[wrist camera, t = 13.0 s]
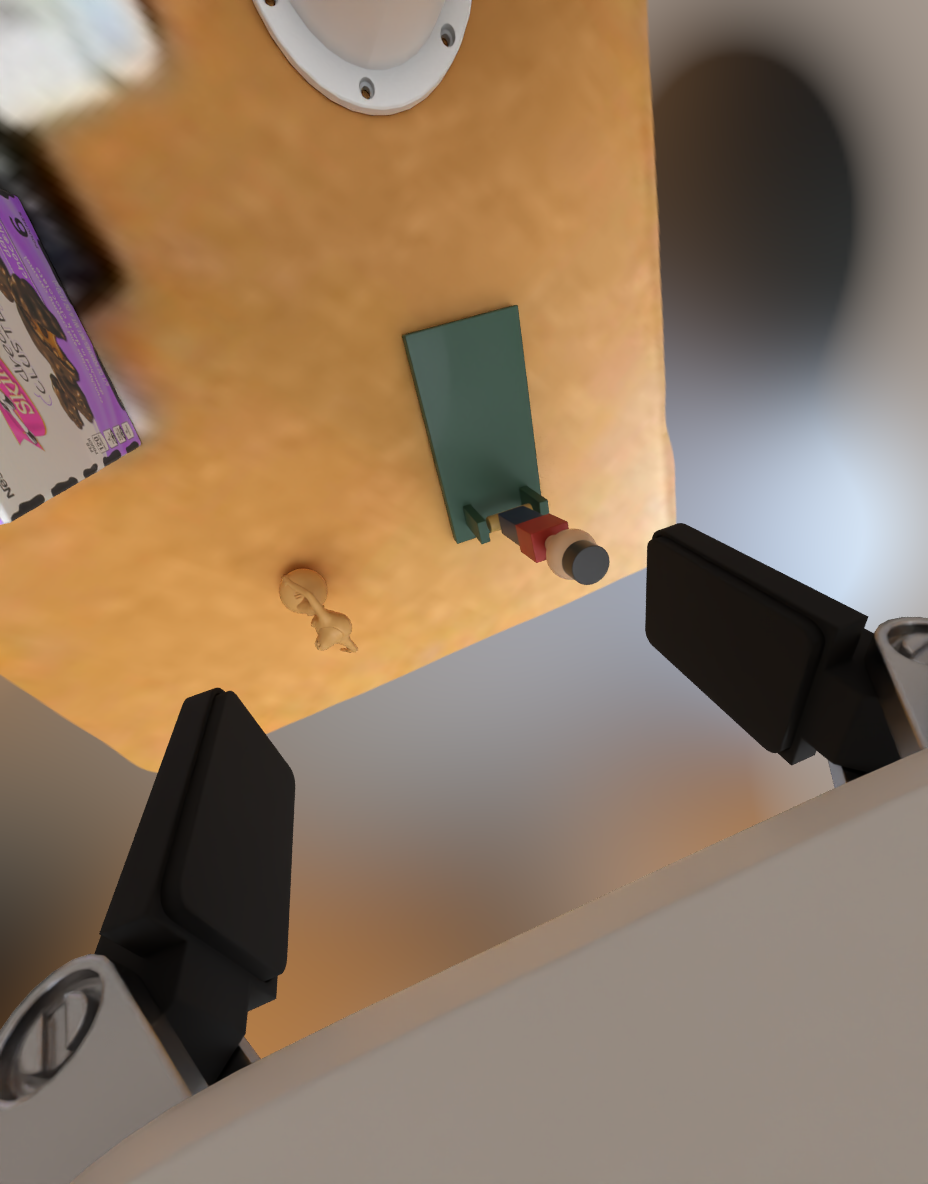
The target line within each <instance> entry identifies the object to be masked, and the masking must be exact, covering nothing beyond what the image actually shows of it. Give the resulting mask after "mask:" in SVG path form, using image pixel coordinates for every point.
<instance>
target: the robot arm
mask: <svg viewBox="0 0 928 1184" xmlns="http://www.w3.org/2000/svg"><path fill="white" fill-rule="evenodd" d="M274 2H275V6H269V5H267V4H266V3H265V0H253V3H254V5H255V7H256V9H257V11H258V13H259V15H260V16H261V18H262V20H263V22H264V24H265V26H266V28H267V30H268V31H269V33H270V35H271V37H272V38H273V40H274V41H275V42H276V44H277V45H278V47H279V48H280V50H281V51H282V52H283V54H284V55H285V57H286V58H287V60H288V61H289V62H290V63H291V65H292V66H293V67H294V68H295V69H296V70H297V71H298V72H299V73H300V74H301V75H302V76H303V77H304V78H305V79H306V81H307V82H308V83H309V84H310V85H312V86H313V87H314V88H316V89H317V90H318V91H319V92H321V93H322V94H323V95H325V96H326V97H327V98H329V99H330V100H332V101H334V102H336V103H338V104H340V105H342V106H344V107H346V108H348V109H350V110H352V111H356V112H360V113H364V114H368V115H392V114H395V113H398V112H402V111H405V110H408V109H410V108H412V107H413V106H415V105H416V104H418V103H419V102H421V101H422V100H424V99H426V98H427V97H428V95H429V94H430V93H431V92H432V91H433V90H434V89H435V88H436V87H437V86H438V85H439V84H440V82H441V81H442V79H443V77H444V76H445V74H446V72H447V71H448V69H449V67H450V66H451V64H452V62H453V60H454V58H455V56H456V54H457V52H458V50H459V48H460V45H461V42H462V39H463V36H464V32H465V29H466V26H467V22H468V19H469V15H470V9H471V2H472V0H274ZM441 38H445V39H446V40H447V42H448V47H447V46H446V45H444V44H443V42H442V40H441ZM362 90H367V91H368V93H369V95H370V98H369V99H366V98H364V97H363V96H362V93H361V92H362ZM867 619H868V616H866V615H864V614H862V613H860V612H858V611H856V610H854V609H852V608H850V607H848V606H846V605H844V604H842V603H840V602H838V601H836V600H834V599H832V598H830V597H828V596H826V595H824V594H822V593H820V592H818V591H816V590H814V589H813V588H811V587H809V586H807V585H804V584H803V583H801V582H799V581H797V580H795V579H793V578H791V577H789V576H787V575H785V574H783V573H781V572H779V571H777V570H775V569H773V568H771V567H769V566H767V565H765V564H763V563H761V562H759V561H757V560H755V559H753V558H751V557H749V556H747V555H745V554H743V553H741V552H739V551H737V550H735V549H734V548H732V547H730V546H727V545H726V544H724V543H721V542H720V541H718V540H716V539H714V538H712V537H710V536H708V535H706V534H704V533H702V532H700V531H698V530H696V529H694V528H692V527H690V526H688V525H686V524H683V523H678V524H675V525H672V526H670V527H667V528H664V529H661V530H658V531H656V532H655V533H654V535H653V537H652V540H650V541H649V543H648V546H647V583H646V624H645V631H646V636H647V638H648V640H649V642H650V643H651V644H652V646H654V647H655V648H656V649H657V650H658V651H659V652H660V653H661V654H662V655H663V656H664V657H665V658H667V659H668V660H669V661H670V662H671V663H672V664H673V665H674V666H675V667H676V668H678V669H679V670H680V671H681V672H682V673H683V674H684V675H685V676H686V677H687V678H688V679H690V680H691V681H692V682H693V683H694V684H695V685H696V686H697V687H698V688H699V689H700V690H701V691H703V692H704V693H705V694H706V695H707V696H708V697H709V698H710V699H711V700H712V701H713V702H714V703H716V704H717V705H718V706H719V707H720V708H721V709H722V710H723V711H724V712H725V713H726V714H728V715H729V716H730V717H731V718H732V719H733V720H734V721H735V722H736V723H737V724H739V725H740V726H741V727H742V728H743V729H744V730H745V731H746V732H747V733H748V734H749V735H750V736H752V737H753V738H754V739H755V740H756V741H757V742H758V743H759V744H760V745H761V746H762V747H764V748H765V749H766V750H768V751H770V752H772V753H778V754H779V755H781V756H782V757H783V758H784V759H785V760H786V761H787V762H788V763H789V764H790V765H794V764H796V763H798V762H800V761H802V760H805V759H807V758H809V757H811V756H813V755H815V753H816V750H817V751H818V752H819V753H820V754H822V755H823V756H824V757H825V758H827V759H828V763H829V767H830V771H831V775H832V779H833V783H834V787H835V788H834V789H832V790H830V791H828V792H826V793H823V794H821V795H819V796H817V797H815V798H813V799H810V800H808V801H806V802H804V803H802V804H800V805H797V806H795V807H793V808H791V809H789V810H787V811H784V812H782V813H780V814H778V815H776V816H774V817H771V818H769V819H767V820H765V821H763V822H761V823H758V824H756V825H754V826H752V827H750V828H747V829H745V830H743V831H741V832H739V833H737V834H734V835H732V836H730V837H728V838H726V839H724V840H721V841H719V842H717V843H715V844H713V845H711V846H709V847H706V848H704V849H702V850H700V851H698V852H695V853H694V854H691V855H689V856H687V857H685V858H683V859H680V860H678V861H676V862H674V863H672V864H670V865H668V866H666V867H664V868H661V869H659V870H657V871H655V872H653V873H651V874H648V875H646V876H644V877H642V878H640V879H638V880H635V881H634V882H631V883H629V884H627V885H625V886H623V887H620V888H618V889H616V890H614V891H612V892H610V893H608V894H606V895H603V896H601V897H599V898H597V899H595V900H593V901H590V902H588V903H586V904H584V905H582V906H580V907H578V908H576V909H573V910H571V911H569V912H567V913H565V914H563V915H561V916H558V917H557V918H554V919H552V920H550V921H548V922H546V923H543V924H541V925H539V926H537V927H535V928H533V929H531V930H529V931H526V932H524V933H522V934H520V935H518V936H516V937H514V938H512V939H509V940H508V941H505V942H503V943H501V944H499V945H497V946H495V947H493V948H491V949H488V950H486V951H484V952H482V953H480V954H478V955H476V956H473V957H471V958H469V959H467V960H465V961H463V962H461V963H459V964H457V965H454V966H452V967H450V968H448V969H446V970H444V971H442V972H440V973H438V974H435V975H433V976H431V977H429V978H427V979H425V980H423V981H421V982H419V983H417V984H414V985H412V986H410V987H408V988H406V989H404V990H402V991H400V992H398V993H396V994H393V995H391V996H389V997H387V998H385V999H383V1000H381V1001H378V1002H376V1003H374V1004H372V1005H370V1006H368V1007H366V1008H364V1009H361V1010H359V1011H357V1012H355V1013H353V1014H351V1015H349V1016H347V1017H345V1018H343V1019H341V1020H339V1021H337V1022H335V1023H333V1024H331V1025H329V1026H327V1027H325V1028H323V1029H321V1030H319V1031H317V1032H315V1033H313V1034H311V1035H309V1036H307V1037H305V1038H303V1039H301V1040H299V1041H297V1042H295V1043H293V1044H291V1045H289V1046H286V1047H285V1048H283V1049H280V1050H278V1051H276V1052H274V1053H272V1054H270V1055H269V1056H266V1057H264V1058H262V1059H260V1057H259V1056H258V1055H257V1053H256V1052H255V1050H254V1049H253V1048H252V1047H251V1045H250V1044H249V1042H248V1041H247V1040H246V1039H245V1037H244V1035H245V1033H246V1023H247V1013H248V1011H250V1010H252V1009H255V1008H257V1007H259V1006H261V1005H263V1004H266V1003H268V1002H270V1001H272V1000H274V999H276V993H277V976H278V975H280V974H282V973H283V972H284V970H285V967H286V963H287V948H288V928H289V907H290V905H289V904H290V886H291V864H292V843H293V821H294V800H295V779H294V775H293V772H292V770H291V768H290V767H289V765H288V764H287V763H286V761H285V760H284V759H283V757H282V756H281V755H280V753H279V752H278V751H277V749H276V748H275V746H274V745H273V744H272V742H271V741H270V740H269V738H268V737H267V736H266V734H265V733H264V732H263V730H262V729H261V727H260V726H259V725H258V723H257V722H256V721H255V719H254V718H253V717H252V715H251V714H250V713H249V711H248V710H247V709H246V707H245V706H244V705H243V703H242V702H241V700H240V699H239V698H238V696H237V695H236V694H235V693H234V692H232V691H227V692H225V691H224V690H222V689H221V688H214V689H211V690H208V691H206V692H203V693H200V694H197V695H194V696H192V697H189V698H187V699H186V700H185V701H184V703H183V705H182V708H181V711H180V713H179V716H178V719H177V722H176V724H175V727H174V730H173V733H172V735H171V738H170V741H169V744H168V746H167V749H166V752H165V755H164V757H163V760H162V763H161V766H160V768H159V771H158V774H157V777H156V779H155V782H154V785H153V788H152V790H151V793H150V796H149V799H148V801H147V804H146V807H145V810H144V813H143V815H142V818H141V821H140V823H139V827H138V829H137V832H136V834H135V837H134V841H133V843H132V845H131V848H130V851H129V854H128V856H127V859H126V862H125V865H124V868H123V870H122V873H121V876H120V879H119V881H118V884H117V887H116V889H115V892H114V895H113V898H112V901H111V903H110V906H109V909H108V911H107V914H106V917H105V920H104V922H103V925H102V928H101V931H100V933H99V934H100V935H101V937H100V940H99V943H98V945H97V948H96V951H95V954H89V955H86V956H83V957H80V958H77V959H74V960H72V961H70V962H69V963H67V964H65V965H64V966H62V967H60V968H59V969H58V970H56V971H54V972H53V973H52V974H51V975H49V976H48V977H47V978H46V979H45V980H43V981H42V982H41V983H40V984H39V985H38V986H36V987H35V988H34V989H33V990H32V991H31V992H30V994H29V995H28V996H27V997H26V998H25V999H24V1000H23V1001H22V1002H21V1004H20V1005H19V1006H18V1007H17V1008H16V1009H15V1010H14V1012H13V1013H12V1014H11V1016H10V1017H9V1019H8V1020H7V1022H6V1023H5V1024H4V1026H3V1027H2V1029H1V1030H0V1184H928V618H922V617H901V618H896V619H891V620H888V621H886V622H884V623H882V624H880V625H879V626H878V628H877V629H876V631H875V633H872V632H870V631H868V630H866V629H864V627H865V624H866V621H867Z"/></svg>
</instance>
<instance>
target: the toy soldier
mask: <svg viewBox="0 0 928 1184" xmlns="http://www.w3.org/2000/svg"><path fill="white" fill-rule="evenodd" d="M486 523H487V527H488V529H489V531H490V532H495V531H498V530H502V534H504V535H505V536H507V537H508V538H509V539H511V540H512V541H513V542H515V543H516V544H518V545H519V546H520V549H521V552H522V553H524V554H525V555H526V556H528V557H529V558H530V559H532V560H533V561H534V562H536V563H538V562H541V561H544V560H547V563H548V566H549V567H550V569H551V570H552V571H553V572H554V573H555V574H556V575H557V576H559V577H561V578H564V579H568V580H576V581H577V582H579V583H580V584H584V585H590V584H594V583H596V582H598V581H599V580H601V579H602V578H603V577H604V575H605V574H606V572H607V570H608V567H609V556H608V554H607V552H606V550H605V549H603V548H602V547H600V546H598V545H597V544H596V542H595V541H594V539H593V538H592V537H591V536H590V535H589V534H588V533H586V532H585V531H582V530H579V529H569V528H568V522H567V521H565V520H562V519H560V518H558V517H556V516H554V515H551V514H546V515H542V514H540V513H538V512H536V511H534V510H533V508H532V506H531V505H530V504H529V503H527V504H524V505H521V506H518V507H515V508H512V509H509V510H506V511H503V512H500V513H497V514H494V515H491V516H488V517H486Z"/></svg>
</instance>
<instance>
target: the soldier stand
mask: <svg viewBox="0 0 928 1184" xmlns="http://www.w3.org/2000/svg"><path fill="white" fill-rule="evenodd" d="M402 338H403V342H404V346H405V350H406V354H407V357H408V361H409V365H410V369H411V373H412V377H413V381H414V385H415V389H416V393H417V396H418V400H419V404H420V408H421V412H422V416H423V420H424V424H425V428H426V431H427V435H428V439H429V443H430V447H431V451H432V455H433V459H434V463H435V466H436V470H437V474H438V478H439V482H440V486H441V490H442V494H443V498H444V502H445V505H446V509H447V513H448V517H449V521H450V525H451V529H452V533H453V537H454V540H455V541H456V542H457V544H459V543H461V542H464V541H467V540H470V539H473V538H476V537H477V539H478V540H479V541H480V542H481V544H484V543H487V542H490V538H489V533H491V532H490V531H489V529H488V527H487V523H486V517H488V516H491V515H494V514H497V513H500V512H503V511H506V510H509V509H512V508H515V507H518V506H521V505H524V504H527V503H529V504H530V505H531V506H532V508H533V510H534V511H536V512H538V513H540V514H542V515H546V514H549V508H548V500H547V499H545V498H544V497H542V496H541V491H540V483H539V475H538V466H537V458H536V450H535V442H534V434H533V426H532V418H531V409H530V401H529V393H528V385H527V377H526V369H525V361H524V353H523V344H522V336H521V328H520V320H519V312H518V305H513V306H509V307H505V308H501V309H498V310H494V311H490V312H487V313H483V314H479V315H475V316H472V317H468V318H464V319H461V320H457V321H453V322H449V323H446V324H442V325H438V326H435V327H431V328H427V329H423V330H420V331H416V332H412V333H408V334H405V335H402Z"/></svg>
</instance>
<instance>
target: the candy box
mask: <svg viewBox="0 0 928 1184" xmlns="http://www.w3.org/2000/svg"><path fill="white" fill-rule="evenodd" d="M140 445H141V442H140V439H139V437H138V435H137V433H136V431H135V429H134V427H133V425H132V423H131V421H130V419H129V417H128V415H127V413H126V411H125V409H124V407H123V405H122V403H121V402H120V400H119V398H118V396H117V393H116V391H115V389H114V387H113V385H112V383H111V381H110V379H109V377H108V375H107V373H106V371H105V369H104V368H103V366H102V364H101V362H100V360H99V358H98V356H97V354H96V352H95V350H94V348H93V346H92V343H91V341H90V339H89V338H88V336H87V334H86V332H85V330H84V328H83V326H82V324H81V322H80V320H79V318H78V316H77V314H76V312H75V310H74V308H73V306H72V304H71V302H70V300H69V298H68V296H67V294H66V292H65V290H64V288H63V286H62V284H61V282H60V280H59V278H58V276H57V274H56V272H55V270H54V268H53V266H52V264H51V262H50V260H49V258H48V256H47V254H46V252H45V250H44V248H43V246H42V244H41V242H40V240H39V238H38V236H37V234H36V232H35V230H34V228H33V226H32V224H31V222H30V220H29V218H28V216H27V215H26V213H25V210H24V208H23V206H22V204H21V202H20V200H19V198H18V197H17V196H15V195H13V194H11V193H9V192H7V191H4V190H2V189H0V524H6V523H10V522H12V521H14V520H15V519H17V518H19V517H21V516H22V515H24V514H25V513H27V512H29V511H31V510H33V509H34V508H36V507H38V506H39V505H41V504H42V503H44V502H46V501H47V500H49V499H51V498H53V497H54V496H56V495H58V494H60V493H61V492H63V491H65V490H67V489H68V488H70V487H72V486H73V485H75V484H77V483H78V482H80V481H82V480H83V479H85V478H87V477H89V476H90V475H92V474H94V473H96V472H98V471H99V470H101V469H102V468H104V467H105V466H107V465H109V464H111V463H112V462H114V461H116V460H118V459H119V458H121V457H122V456H124V455H126V454H127V453H129V452H131V451H133V450H134V449H136V448H137V447H139V446H140Z"/></svg>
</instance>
